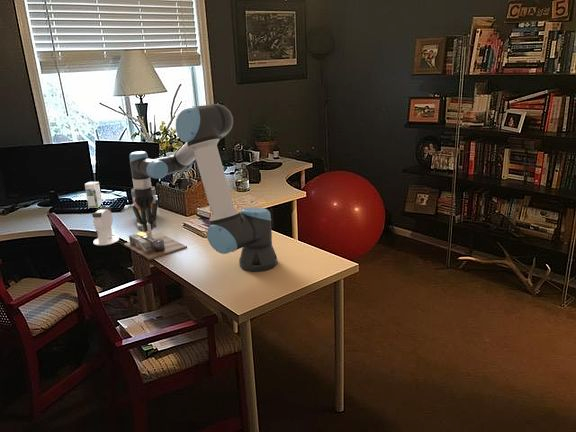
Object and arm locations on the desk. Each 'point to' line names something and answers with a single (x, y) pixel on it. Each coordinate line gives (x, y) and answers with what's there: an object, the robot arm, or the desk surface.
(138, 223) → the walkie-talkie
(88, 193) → the syrup box
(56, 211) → the desk surface
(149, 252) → the board
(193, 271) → the desk surface
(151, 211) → the reusable coffee cup
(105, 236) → the white figurine
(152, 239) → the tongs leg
